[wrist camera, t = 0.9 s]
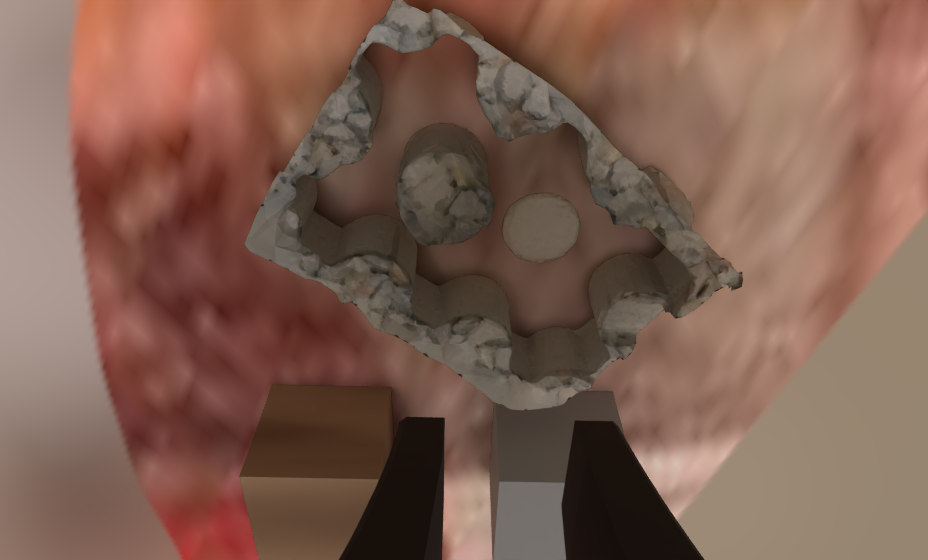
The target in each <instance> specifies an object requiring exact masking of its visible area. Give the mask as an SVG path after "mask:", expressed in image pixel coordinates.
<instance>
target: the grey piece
mask: <svg viewBox="0 0 928 560" xmlns="http://www.w3.org/2000/svg"><path fill="white" fill-rule="evenodd" d="M444 34H451V35H453V36H454V37H456V38H458V39H461V40H463V41H465V42H467V43H468V44H469V45H470V46H471V47H472V48H473V49H474V51H475V52H476V53H477V79H476V95H477V98H478V101H479V103H480V105H481V108H482V110H483V112H484V114H485V116H486V117H487V118H488V120H489V121H490V122H491V124H492V126H493V129H494V131H495V133H496V135H497V136H499V137H501V138H503V139H505V140H507V141H511V140H513V139H515V138H517V137H520V136H523V135H528V134H535V133H545V132H549V131H551V130H553V129H556V128H557V127H559V126H560V125H561V124H563V123H569V124H571V125H573V126H574V127H575V128H576V129H577V130H578V131H579V134H578V146H579V153H580V158H581V161H582V164H583V167H584V170H585V173H586V176H587V178H588V180H589V182H590V191H591V194H592V196H593V199H594V202H595V204H596V205H599V206H601V207H603V208H605V209H606V210H608V211H609V213H610V216H611V219H612V221H613V224H614V225H626V226H634V227H635V228H636V229H640V228H646V227H647V228H648V229H649V230H650V231H651V232H652V233H653V235H654V236H655V237H656V238H657V239H658V240H659V241H660V242H661V243H662V244H663V245H664V246H665V247H666V248H665V249H664V250H663V251H662V252H661V253H659V254H658V255H657V256H656V257H654V258H653V259H652V258H648V257H645V256H641V255H638V254H623V255H619V256H615V257H612V258H610V259H608V260H607V261H605V262H604V263H602V264H601V265H600V266H599V267H598V268H597V269H596V271H595V272H594V274H593V275H592V277H591V280H590V282H589V284H588V294H589V298H590V303H591V308H592V311H593V314H594V318H592V319H591V320H589V321H588V322H587V323H586V324H585V325H584V326H583V327H581V328H580V329H577V330H572V329H568V328H564V327H549V328H545V329H542V330H539V331H537V332H535V333H534V334H533V335H531V336H529V337H527V338H523V337H521V336H519V335H517V334H516V333H514V332H512V331H511V324H510V312H509V302H508V298H507V295H506V293H505V292H504V290H503V289H502V288H501V286H500V285H499V284H498V283H497V282H495V281H493V280H491V279H489V278H487V277H483V276H479V275H464V276H460V277H456V278H454V279H452V280H450V281H448V282H446V283H444V284H442V285H440V286H437V285H435V284H433V283H431V282H429V281H428V280H426V279H425V278H423V277H421V276H419V275H418V274H416V273H415V271H416V260H417V245H416V241H417V242H418V243H420V244H422V245H424V246H428V247H430V246H434V245H438V244H441V243H442V244H456V243H461V242H464V241H466V240H468V239H470V238H471V237H473V236H474V235H475V234H477V233H478V232H479V231H480V230H481V229H482V228H483V227H484V226H488V224H489V223H490V221H491V219H492V218H493V211H494V205H495V203H494V200H493V197H492V194H491V192H490V189H489V178H488V169H487V159H486V154H485V152H484V149H483V147H482V145H481V144H480V142H479V140H478V138H477V137H476V136H475V135H474V134H472V133H471V132H469V131H468V130H467V129H465V128H463V127H460V126H457V125H455V124H447V123H437V124H432V125H429V126H426V127H424V128H423V129H422V130H420V131H419V132H418V133H416V134H414V135H413V136H412V137H411V138H410V141H409V142H408V144H407V146H406V148H405V151H404V155H403V158H402V161H401V167H400V172H399V176H398V179H397V183H396V193H395V194H396V202H395V204H396V206H397V207H398V209H399V213H400V217H401V219H402V221H403V222H404V224H405V226H406V227H405V226H404V225H403V224H402V223H400V222H399V221H397V220H395V219H394V218H391V217H388V216H384V215H367V216H364V217H361V218H358V219H356V220H354V221H352V222H351V223H349V224H348V225H346V226H345V227H342V228H341V227H339V226H337V225H335V224H333V223H332V222H330V221H328V220H327V219H325V218H323V217H322V216H320V215H318V214H317V213H316V212H315V211H314V207H315V204H316V200H317V195H318V191H317V182H316V180H315V179H322V178H325V177H327V176H328V175H329V174H331V173H332V172H333V171H334V170H336V169H337V168H338V167H339V166H341V165H346V164H353V163H356V162H358V161H360V160H361V159H363V158H364V157H365V155H366V153H367V152H368V150H369V149H370V148H371V146H372V144H373V143H372V133H373V129H374V126H375V123H376V120H377V118H378V115H379V112H380V109H381V105H382V93H383V92H382V85H381V82H380V79H379V76H378V74H377V72H376V71H375V69H374V67H373V66H372V65H371V64H370V63H369V61H368V60H367V59H366V58H365V57H364V56H363V53H364V51H365V49H366V48H367V47H368V46H369V45H370V44H371V43H380V44H383V45H386V46H388V47H391V48H393V49H394V50H396V51H399V52H402V53H409V52H416V51H420V50H422V49H425V48H427V47H430V46H432V45H433V43H434V42H435V41H436V40H437V39H438V38H440V37H441V36H442V35H444ZM483 39H484V37H483V36H482V35H481V34H480V33H479V32H478V31H477V30H476V29H475V28H474V27H473V26H472V25H471V24H469V23H468V22H467V21H465V20H464V19H462V18H460V17H459V16H457V15H455V14H452V13H450V12H448V13H447V14H444V13H443V12H442V11H440V10H438V9H434V8H433V9H432V10H431V11H430V12H429V13H425V12H423V11H421V10H419V9H417V8H415V7H412V6H410V5H408V4H407V3H406V2H404V1H403V0H393V2H392V4H391V6H390V8H389V10H388V12H387V13H386V15H385V17H384V18H383V19H382V20H381V21H380V22H379V23H378V24H375V25H374V26H373V27H372V29H371V30H370V32H369V33H368V35H367V36H366V38H365V39H364V41H363V42H362V44H361V45H360V47H359V49H358V51H357V53H356V55H355V57H354V58H353V60H352V62H351V65H350V67H349V70H348V74H347V76H346V78H345V80H344V82H343V83H342V85H341V86H340V87H339V88H338V89H337V90H336V91H335V92H333V93H332V94H331V96H330V97H329V98H328V99H327V101H326V102H325V104H324V105H323V107H322V109H321V110H320V112H319V114H318V116H317V118H316V120H315V123H314V125H313V127H312V129H311V130H310V131H309V132H308V133H307V134H306V136H305V137H304V138H303V140H302V141H301V143H300V145H299V146H298V148H297V150H296V151H295V153H294V155H293V157H292V158H291V160H290V162H289V163H288V165H287V167H286V169H285V171H284V172H281V171H280V172H279V174H278V175H277V176H276V178H275V179H274V181H273V183H272V185H271V186H270V188H269V191H268V193H267V195H266V197H265V199H264V201H263V203H262V205H261V207H260V209H259V211H258V213H257V215H256V217H255V220H254V222H253V225H252V227H251V230H250V232H249V235H248V237H247V239H246V242H245V244H244V245H245V246H246V247H247V248H248V250H249V251H250V252H252V253H254V254H256V255H259V256H261V257H263V258H265V259H267V260H270V261H272V262H274V263H276V264H278V265H280V266H282V267H284V268H286V269H288V270H290V271H292V272H294V273H296V274H297V275H299V276H301V277H303V278H305V279H311V280H316V281H318V282H320V283H322V284H323V285H325V286H327V287H328V288H330V289H331V290H332V291H334V292H335V293H336V294H337V296H338V298H339V300H340V302H342V303H348V302H352V303H354V304H355V305H356V306H357V307H358V308H359V309H361V311H362V312H363V314H364V315H365V317H366V318H367V320H368V321H369V322H370V324H371V325H372V327H373V328H375V329H378V330H380V331H383V332H386V333H388V334H391V335H394V336H396V337H398V338H400V339H402V340H403V341H405V342H407V343H409V344H410V345H411V346H413V347H414V348H416V349H417V350H419V351H420V352H421V353H423V354H424V355H426V356H427V357H429V358H432V359H434V360H436V361H439V362H441V363H443V364H445V365H446V366H448V367H449V368H450V369H452V370H453V371H454V372H456V373H457V374H458V375H460V376H461V377H462V378H464V379H465V380H466V381H467V382H469V383H470V384H471V385H473V386H474V387H475V388H476V389H478V390H479V391H480V392H482V393H483V394H484V395H486V396H487V397H488V398H489V399H491V400H492V401H493V402H496V403H498V404H500V405H502V406H504V407H507V408H509V409H511V410H533V409H542V408H550V407H556V406H559V405H562V404H564V403H565V402H567V401H568V400H569V399H570V398H572V397H573V396H574V395H575V394H576V393H578V392H581V391H583V390H585V389H588V388H591V387H592V385H593V382H594V379H595V378H596V377H597V376H598V375H599V373H600V372H601V371H602V370H603V369H605V368H606V367H607V366H608V365H609V364H610V363H612V362H613V361H615V360H617V359H619V358H621V359H622V360H624V359H626V358H627V357H628V356H629V355H630V354H631V353H632V351H633V349H634V346H635V344H636V335H637V333H638V332H639V331H640V330H641V329H642V328H643V327H645V326H646V325H647V324H648V323H649V322H651V321H652V320H653V319H654V318H655V317H656V316H657V315H658V314H659V313H660V312H661V311H662V310H665V312H670V313H671V314H672V315H673V316H674V318H681V317H683V316H685V315H687V314H689V313H690V312H692V311H694V310H695V309H696V308H698V307H699V306H700V305H702V304H703V303H704V302H705V301H706V300H707V299H708V298H710V297H711V295H712V294H713V293H714V292H715V291H718V290H719V289H721V288H723V287H725V286H726V285H728V286H729V288H730V287H732V288H731V291H733V290H735V289H738V288H740V287H742V282H743V277H742V272H740V273H738V272H737V271H736V270H735V269H734V268H733V266H732V264H731V262H729V261H728V260H726V259H724V258H721V257H720V256H719V255H718V254H717V253H716V252H715V251H714V250H712V249H711V247H710V246H709V245H708V244H707V243H706V242H705V241H704V240H703V239H702V238H701V237H700V236H699V235H698V234H697V233H696V232H694V231H692V230H691V229H690V228H691V224H692V220H693V217H694V213H693V209H692V205H691V202H690V201H689V200H688V199H687V198H686V196H685V194H684V193H683V192H681V191H680V190H679V189H678V188H677V187H676V186H675V184H674V183H672V182H671V181H670V180H669V179H668V178H667V177H666V176H665V175H663V174H662V173H661V172H660V171H657V170H656V169H654V168H653V167H650V166H648V167H647V168H645V169H644V170H642V171H641V170H640V169H639V168H638V167H637V166H635V165H634V164H633V163H632V162H631V161H630V160H629V159H628V158H626V157H624V156H623V155H622V154H621V153H620V152H619V151H618V150H617V149H616V148H615V147H614V146H613V145H612V144H611V143H610V142H609V141H608V139H607V138H606V137H605V136H604V134H603V133H602V132H601V131H600V130H599V129H598V128H597V127H596V126H595V125H594V124H593V123H592V122H591V121H590V120H589V118H588V117H587V115H586V114H584V113H583V112H582V111H581V110H580V109H579V108H578V107H577V106H576V105H575V104H574V103H573V102H572V101H571V100H570V99H569V98H567V97H566V96H565V95H563V94H562V93H561V92H559V91H558V90H557V89H555V88H554V87H553V86H551V85H550V84H549V83H547V82H546V81H544V80H543V79H541V78H540V77H538V76H537V75H535V74H534V73H532V72H531V71H529V70H528V69H526V68H524V67H523V66H521V65H520V64H518V63H517V62H515V61H514V60H512V59H511V58H509V57H508V56H506V55H505V54H503V53H501V52H500V51H498V50H497V49H496V48H494V47H493V46H491V45H490V44H488V43H487V42H485V41H484V40H483ZM579 228H580V221H579V218H578V213H577V211H576V210H575V208H574V207H573V206H572V205H571V204H570V202H569V201H567V200H565V199H562V198H560V196H559V195H558V196H555V195H554V194H552V193H537V194H532V195H528V196H525V197H523V198H521V199H519V200H518V201H516V202H515V203H514V204H513V205H511V206H510V208H509V210H508V211H507V213H506V214H505V216H504V220H503V226H502V233H503V237H504V241H505V243H506V244H507V246H508V247H509V248H510V250H511V251H512V252H513V253H514V254H515V255H516V256H517V257H518V258H520V259H522V260H525V261H529V262H536V263H542V262H547V261H552V260H556V259H558V258H560V257H562V256H564V255H565V254H566V253H567V252H568V251H569V250H570V249H571V248H572V246H573V245H574V244H575V243H576V241H577V236H578V233H579Z"/></svg>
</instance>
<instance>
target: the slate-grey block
mask: <svg viewBox="0 0 928 560" xmlns="http://www.w3.org/2000/svg"><path fill="white" fill-rule="evenodd" d="M575 420H581V421H613V422H614V423H615V424H616V425H617V426H618V427H619V428H620V430H621V432H622V434H623V435H624V433H623V429H622V425H621V421H620V417H619V414H618V410H617V406H616V402H615V399H614V395H613V392H607V391H581V392H578V393H576V394H575V395H574V396H573V397H572V398H570V399H569V400H568V401H567V402H565V403H564V404H562V405H559V406H556V407H550V408H542V409H533V410H511V409H509V408H507V407H504V406H502V405H500V404H498V403H496V402H494V408H493V423H492V439H491V454H490V469H489V471H490V500H491V528H492V556H493V560H566V553H565V543H564V531H563V519H562V508H561V504H562V497H563V491H564V485H565V479H566V472H567V466H568V460H569V453H570V447H571V441H572V435H573V428H574V422H575ZM624 437H625V436H624Z"/></svg>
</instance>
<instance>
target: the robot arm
mask: <svg viewBox="0 0 928 560" xmlns="http://www.w3.org/2000/svg"><path fill="white" fill-rule="evenodd" d="M444 428H445V418H433V417H406V418H404V419H403V420H402V421H400V422H399V425H398V429H397V433H396V437H395V440H394V443H393V446H392V449H391V451H390V454H389V457H388V459H387V462H386V464H385V467H384V469H383V472H382V474H381V476H380V479H379V481H378V483H377V486H376V488H375V490H374V492H373V494H372V496H371V498H370V500H369V502H368V504H367V507H366V509H365V511H364V513H363V515H362V517H361V519H360V521H359V523H358V525H357V527H356V529H355V531H354V533H353V535H352V537H351V539H350V541H349V542H348V544H347V546H346V548H345V549H344V551H343V553H342V555H341V557H340V558H339V560H442V539H443V507H444ZM561 508H562V519H563V531H564V543H565V553H566V560H704V558H703V557H702V556H701V554H700V553H699V551H698V550H697V549H696V547H695V546H694V544H693V543H692V542H691V540H690V539H689V537H688V536H687V534H686V533H685V532H684V530H683V529H682V527H681V526H680V524H679V523H678V521H677V520H676V519H675V517H674V516H673V514H672V513H671V511H670V510H669V508H668V507H667V505H666V504H665V502H664V501H663V499H662V498H661V496H660V495H659V493H658V492H657V490H656V488H655V487H654V485H653V484H652V482H651V481H650V479H649V477H648V476H647V474H646V473H645V471H644V469H643V468H642V466H641V464H640V463H639V461H638V459H637V458H636V456H635V454H634V453H633V451H632V449H631V448H630V446H629V444H628V442H627V441H626V439H625V437H624V435H623V434H622V432H621V430H620V428H619V427H618V426H617V425H616V424H615V423H614V422H613V421H581V420H575V422H574V428H573V435H572V441H571V447H570V453H569V460H568V466H567V472H566V479H565V485H564V491H563V497H562V504H561Z"/></svg>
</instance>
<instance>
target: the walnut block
mask: <svg viewBox="0 0 928 560" xmlns="http://www.w3.org/2000/svg"><path fill="white" fill-rule="evenodd" d="M393 443H394V435H393V413H392V392H391V387H365V386H316V385H272V388H271V390H270V393H269V396H268V399H267V401H266V404H265V407H264V410H263V413H262V415H261V418H260V421H259V424H258V426H257V429H256V432H255V435H254V438H253V440H252V443H251V446H250V449H249V451H248V454H247V457H246V460H245V463H244V465H243V468H242V471H241V474H240V476H239V477H240V481H241V486H242V490H243V494H244V498H245V503H246V507H247V511H248V515H249V520H250V524H251V528H252V532H253V537H254V541H255V545H256V549H257V554H258V558H259V560H339V558H340V557H341V555H342V553H343V551H344V549H345V548H346V546H347V544H348V542H349V541H350V539H351V537H352V535H353V533H354V531H355V529H356V527H357V525H358V523H359V521H360V519H361V517H362V515H363V513H364V511H365V509H366V507H367V504H368V502H369V500H370V498H371V496H372V494H373V492H374V490H375V488H376V486H377V483H378V481H379V479H380V476H381V474H382V472H383V469H384V467H385V464H386V462H387V459H388V457H389V454H390V451H391V449H392V446H393Z"/></svg>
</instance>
